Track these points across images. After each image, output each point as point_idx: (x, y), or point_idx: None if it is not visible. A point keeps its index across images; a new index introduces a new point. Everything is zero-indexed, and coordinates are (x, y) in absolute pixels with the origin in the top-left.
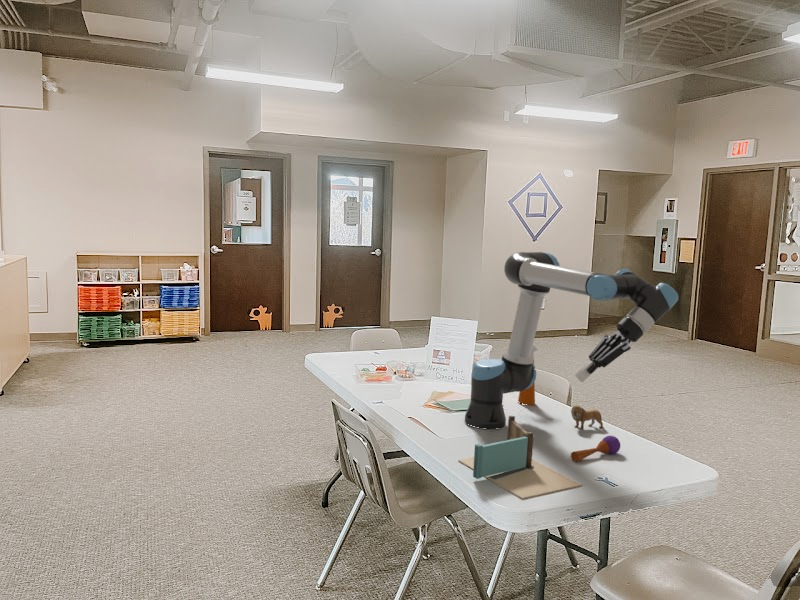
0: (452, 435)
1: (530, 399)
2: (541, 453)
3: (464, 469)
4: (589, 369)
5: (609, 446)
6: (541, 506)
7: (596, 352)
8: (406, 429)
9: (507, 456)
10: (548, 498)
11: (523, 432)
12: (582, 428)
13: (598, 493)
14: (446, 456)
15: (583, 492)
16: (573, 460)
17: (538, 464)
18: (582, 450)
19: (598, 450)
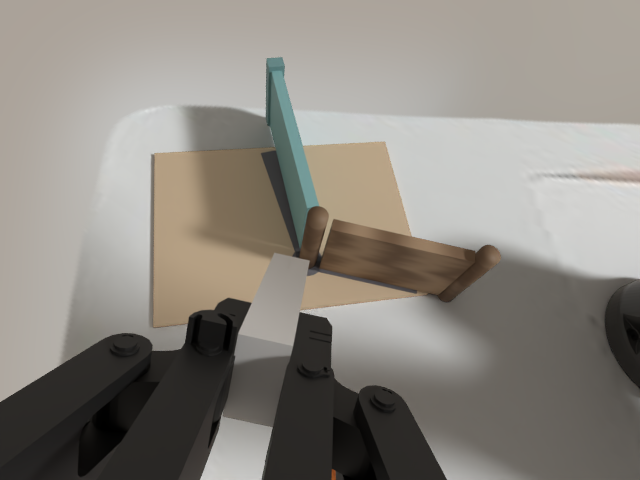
0: (552, 207)
1: None
2: (400, 365)
3: (336, 133)
4: (220, 304)
5: None
6: (107, 170)
7: (331, 455)
8: (589, 135)
9: (287, 168)
10: (133, 206)
11: (357, 225)
12: None
13: (94, 341)
14: (414, 135)
15: (119, 305)
16: None
17: (314, 297)
18: (333, 474)
19: None
